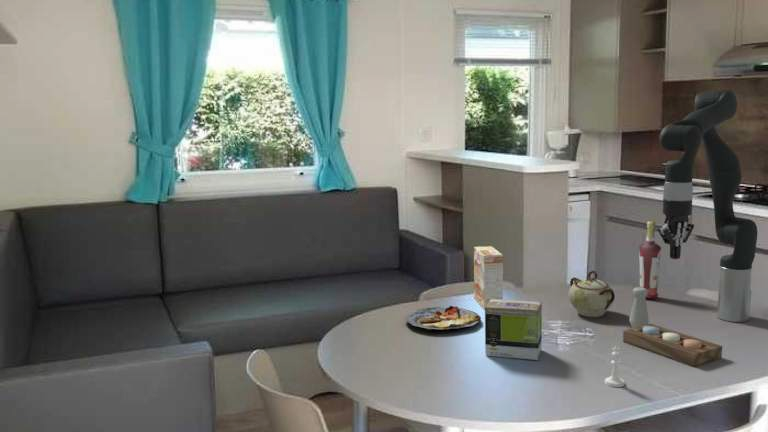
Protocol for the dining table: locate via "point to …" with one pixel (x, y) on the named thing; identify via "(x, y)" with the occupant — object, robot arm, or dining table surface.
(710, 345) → the wooden slotted tray
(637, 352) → the dining table surface
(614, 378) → the chess piece
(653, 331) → the slate button
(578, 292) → the sugar bowl
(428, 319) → the food plate
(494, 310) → the tea box
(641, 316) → the salt shaker
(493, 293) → the coffeecake box
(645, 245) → the liquor
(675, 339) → the cream button
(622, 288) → the dining table surface
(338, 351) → the dining table surface
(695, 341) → the terracotta button
